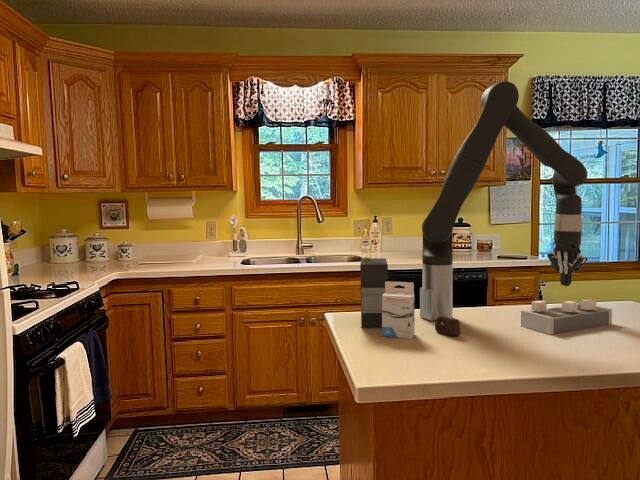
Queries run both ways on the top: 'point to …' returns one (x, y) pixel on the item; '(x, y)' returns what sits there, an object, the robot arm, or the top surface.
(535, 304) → the switch
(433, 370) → the top surface
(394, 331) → the ink box
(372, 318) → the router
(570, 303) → the switch
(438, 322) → the stone
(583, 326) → the power strip
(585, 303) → the switch
